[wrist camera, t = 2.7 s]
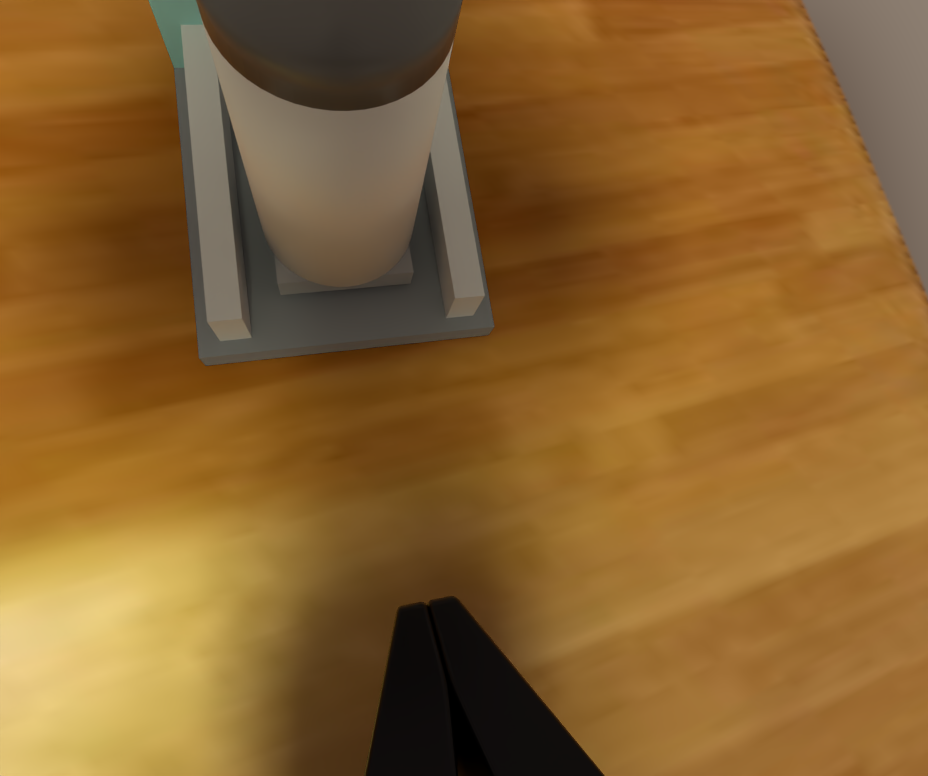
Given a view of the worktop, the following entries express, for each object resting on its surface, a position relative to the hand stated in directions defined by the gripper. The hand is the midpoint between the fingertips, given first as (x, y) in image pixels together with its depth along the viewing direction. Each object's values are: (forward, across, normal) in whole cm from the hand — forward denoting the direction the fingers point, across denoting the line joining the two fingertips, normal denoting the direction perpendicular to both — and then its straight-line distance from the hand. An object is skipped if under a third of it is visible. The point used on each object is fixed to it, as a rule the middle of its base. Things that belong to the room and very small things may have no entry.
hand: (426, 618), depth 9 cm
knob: (+16, 0, 0) cm, 16 cm away
